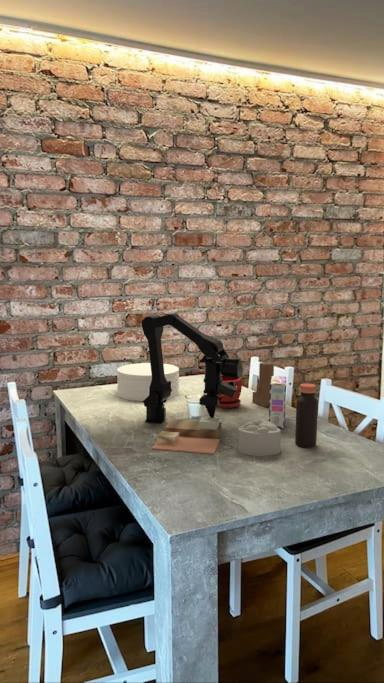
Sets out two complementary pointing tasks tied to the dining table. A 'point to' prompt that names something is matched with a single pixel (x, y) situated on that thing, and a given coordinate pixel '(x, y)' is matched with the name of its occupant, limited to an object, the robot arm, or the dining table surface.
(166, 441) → the maple tile
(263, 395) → the wooden block
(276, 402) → the candy box
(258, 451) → the lumpy-topped squat cylinder
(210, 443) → the terracotta mat
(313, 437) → the bottle
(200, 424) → the sage tile
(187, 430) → the walnut board
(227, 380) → the plant pot
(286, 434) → the dining table surface
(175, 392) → the plate stack
